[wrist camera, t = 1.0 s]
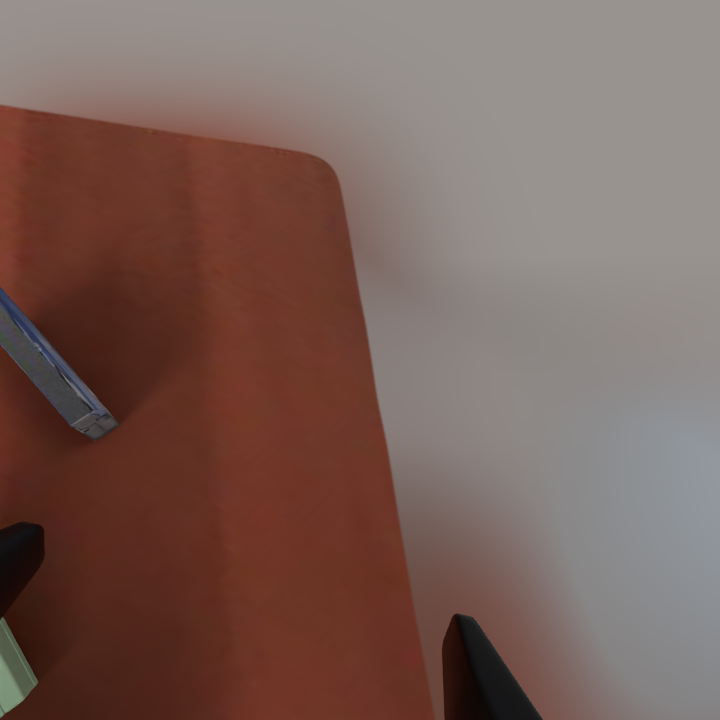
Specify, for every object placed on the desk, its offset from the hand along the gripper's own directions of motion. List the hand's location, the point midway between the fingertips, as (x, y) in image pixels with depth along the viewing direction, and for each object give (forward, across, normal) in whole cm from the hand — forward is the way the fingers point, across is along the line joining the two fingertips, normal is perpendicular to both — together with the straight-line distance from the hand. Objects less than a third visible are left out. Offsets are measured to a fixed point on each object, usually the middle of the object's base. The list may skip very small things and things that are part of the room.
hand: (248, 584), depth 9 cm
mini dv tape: (+15, +16, +5) cm, 23 cm away
